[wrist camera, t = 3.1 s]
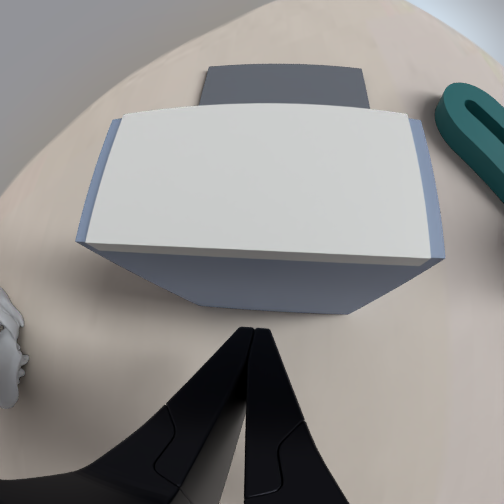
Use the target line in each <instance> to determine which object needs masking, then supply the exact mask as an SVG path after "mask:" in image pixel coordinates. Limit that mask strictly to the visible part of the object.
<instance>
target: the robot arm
mask: <svg viewBox="0 0 504 504" xmlns="http://www.w3.org/2000/svg"><path fill="white" fill-rule="evenodd" d="M245 414H246V431H245V477H244V504H349V502H348V501H347V499H346V497H345V496H344V494H343V492H342V491H341V489H340V488H339V486H338V484H337V483H336V481H335V479H334V478H333V476H332V474H331V473H330V471H329V469H328V468H327V466H326V464H325V462H324V461H323V459H322V457H321V455H320V453H319V451H318V449H317V447H316V445H315V443H314V440H313V438H312V436H311V434H310V431H309V429H308V426H307V423H306V422H305V419H304V416H303V414H302V411H301V408H300V406H299V403H298V401H297V398H296V396H295V393H294V390H293V388H292V385H291V383H290V380H289V377H288V375H287V372H286V370H285V367H284V364H283V362H282V359H281V357H280V354H279V351H278V349H277V346H276V343H275V341H274V338H273V336H272V333H271V331H270V329H266V328H256V329H254V328H252V327H239V328H238V329H237V330H236V331H235V332H234V334H233V335H232V336H231V337H230V338H229V339H228V340H227V341H226V342H225V343H224V344H223V345H222V346H221V347H220V348H219V349H218V351H217V352H216V353H215V354H214V355H213V356H212V357H211V358H210V359H209V360H208V361H207V362H206V363H205V364H204V365H203V366H202V367H201V368H200V369H199V370H198V371H197V372H196V373H195V374H194V375H193V377H192V378H191V379H190V380H189V381H188V382H187V383H186V384H185V385H184V386H183V387H182V388H181V389H180V390H179V391H178V392H177V393H176V394H175V395H174V396H173V397H172V398H171V399H170V400H169V401H168V402H167V403H166V405H164V406H163V407H162V408H161V409H160V410H159V411H158V412H157V413H156V414H155V415H154V416H152V417H151V418H150V419H149V420H148V421H147V422H146V423H145V424H144V425H143V426H141V427H140V428H139V429H138V430H136V431H135V432H134V433H133V434H131V435H130V436H129V437H128V438H126V439H125V440H124V441H122V442H121V443H120V444H118V445H117V446H115V447H114V448H113V449H111V450H110V451H109V452H107V453H106V454H104V455H103V456H102V457H100V458H99V459H97V460H96V461H94V462H93V463H91V464H90V465H88V466H86V467H84V468H82V469H79V470H77V471H73V472H69V473H64V474H57V475H51V476H43V477H36V478H27V479H16V480H1V479H0V504H219V502H220V498H221V495H222V492H223V489H224V485H225V482H226V479H227V476H228V472H229V469H230V466H231V462H232V459H233V455H234V452H235V449H236V445H237V442H238V438H239V435H240V431H241V428H242V424H243V421H244V417H245Z"/></svg>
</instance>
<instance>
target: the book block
mask: <svg viewBox="0 0 504 504" xmlns="http://www.w3.org/2000/svg"><path fill="white" fill-rule="evenodd" d="M75 242H77V243H79V244H81V245H83V246H84V247H86V248H88V249H90V250H91V251H93V252H95V253H97V254H99V255H101V256H102V257H104V258H106V259H108V260H110V261H112V262H113V263H115V264H117V265H119V266H121V267H123V268H125V269H127V270H128V271H130V272H132V273H134V274H136V275H138V276H140V277H142V278H144V279H146V280H148V281H150V282H152V283H154V284H156V285H158V286H160V287H162V288H164V289H166V290H168V291H170V292H172V293H174V294H176V295H178V296H180V297H182V298H184V299H186V300H188V301H190V302H192V303H195V304H197V305H199V306H209V307H221V308H234V309H247V310H262V311H279V312H298V313H321V314H350V313H352V312H354V311H356V310H357V309H359V308H361V307H363V306H365V305H367V304H369V303H370V302H372V301H374V300H376V299H378V298H379V297H381V296H383V295H385V294H387V293H388V292H390V291H392V290H394V289H395V288H397V287H399V286H401V285H402V284H404V283H406V282H407V281H409V280H411V279H412V278H414V277H416V276H417V275H419V274H421V273H422V272H424V271H426V270H427V269H429V268H431V267H432V266H434V265H435V264H437V263H439V262H440V261H442V260H443V259H445V249H444V239H443V230H442V222H441V215H440V208H439V202H438V195H437V190H436V184H435V179H434V174H433V169H432V164H431V159H430V155H429V150H428V146H427V142H426V138H425V134H424V130H423V126H422V123H421V120H415V119H409V118H408V115H407V114H404V113H397V112H390V111H382V110H374V109H365V108H355V107H344V106H331V105H314V104H286V103H248V104H219V105H203V106H189V107H178V108H168V109H159V110H151V111H143V112H136V113H129V114H124V115H123V118H121V119H115V120H112V123H111V125H110V128H109V131H108V133H107V136H106V139H105V141H104V144H103V147H102V150H101V153H100V155H99V158H98V161H97V164H96V167H95V171H94V174H93V177H92V180H91V183H90V187H89V190H88V194H87V197H86V201H85V204H84V208H83V212H82V216H81V219H80V223H79V227H78V232H77V236H76V240H75Z"/></svg>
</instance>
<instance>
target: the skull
mask: <svg viewBox="0 0 504 504" xmlns="http://www.w3.org/2000/svg"><path fill="white" fill-rule="evenodd" d="M0 325H3V327H4V329H3V330H2V331H0V407H1V408H5V409H7V408H8V409H9V408H11V407H13V406H14V404H15V403H16V402H17V400H18V397H19V393H18V387H17V384H18V383H19V382H20V381H19V377H20V376H21V377H22V376H24V375H25V371H24V370H23V369H22V368H21V366H22V365H24V364H26V363H27V362H28V361H29V356H28V355H22V353H21V351H20V346H19V345H18V343H16V342H17V338H18V335H19V327H20V326H21V327H23V326H24V320H23V317H22V315H21V314H20V312H19V311H18V310H17V309H16V308H15V307H14V306H13V305H12V303H11V302H10V299H9V297H8V295H7V294H6V292H5V291H4V290H3V289H2V288H1V287H0Z"/></svg>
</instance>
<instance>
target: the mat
mask: <svg viewBox="0 0 504 504" xmlns="http://www.w3.org/2000/svg"><path fill="white" fill-rule="evenodd" d="M248 103H286V104H314V105H331V106H344V107H355V108H365V109H370V107H369V102H368V96H367V92H366V87H365V82H364V78H363V73H362V69H359V68H350V67H339V66H326V65H307V64H244V65H226V66H212V67H209V69H208V73H207V76H206V80H205V84H204V88H203V91H202V95H201V99H200V103H199V106H203V105H219V104H248Z"/></svg>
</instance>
